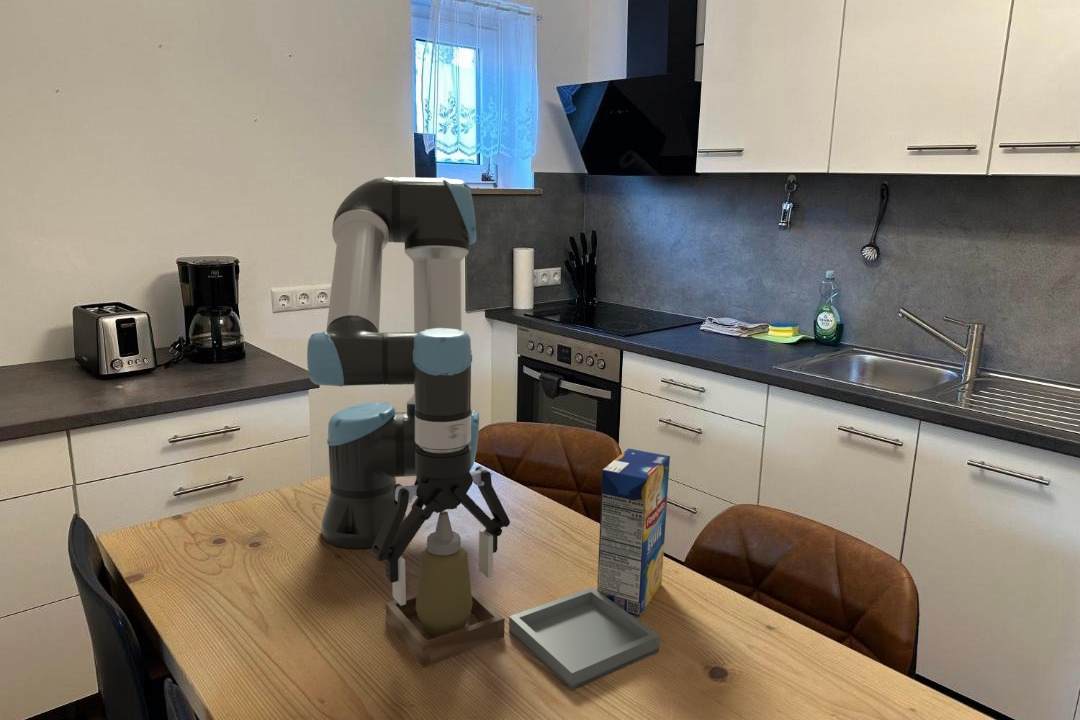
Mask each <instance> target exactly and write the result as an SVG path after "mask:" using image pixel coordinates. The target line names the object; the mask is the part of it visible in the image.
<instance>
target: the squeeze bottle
mask: <svg viewBox="0 0 1080 720" xmlns="http://www.w3.org/2000/svg"><path fill="white" fill-rule="evenodd" d="M451 524H452V523H451V521H450V516H449V513H448V511H446V510H444V511H443V512H439V513H438V518H437V522H436V527H435V531H434V532H431V533H430V534H428V536H427V538H426V548H425V549H424V550H423V551H421V555H420V557H419V566H418V567H419V568H418V579H417V589H416V590H417V591H416V593H417V598H416V612H417V614H418V616H417V617H418V619H419V621H420V624H421V626H422V631H424V634H425V635H426V636H427V637H429V638H430V639H433V638H436V637H439V636H442V635H445V634H448V633H451V632H453V631H456V630H459V629H462V628H465V627H467V624H468V621H469V618H470V616H471V610H472V605H473V604H472V594H471V588H472V587H471V585H472V584H471V578H470V577H471V576H470V568H469V559H468V553H467V551H466V549H465V548H463V547H462V546H461V542H462V541H461V540H462V539H461V538H462V537H461V535H460V533H458V532H456V531H454V530H453V529H452V525H451Z"/></svg>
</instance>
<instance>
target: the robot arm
mask: <svg viewBox="0 0 1080 720" xmlns="http://www.w3.org/2000/svg"><path fill="white" fill-rule="evenodd" d="M476 223H477V221H476V212H475V207H474V201H473V196H472V191H471V189H470V186H469V185H468V183H467V182H466V181H464V180H461V179H454V178H453V179H451V178H445V177H392V176H384V177H377V178H374V179H371V180H368V181H366V182H364V183H362V184H361V185H359V186H358V187H356V188H355V189H354V190H352V191H351V192H350V193H349V194H348V195H347V196H346V197H345V198H344V200H343V201H342V202H341V204H340V205H339V207H338V208H337V211H336V213H335V214H334V217H333V222H332V230H331V234H332V238H333V241H334V243H335V245H336V248H335V255H334V256H335V257H334V264H333V273H332V280H331V287H330V288H331V289H330V298H329V306H328V314H327V323H326V331H323V332H315V333H313V334H311V335H310V337H309V338H308V341H307V348H306V350H307V351H306V353H307V354H306V359H307V361H306V362H307V371H308V372H307V373H308V377H309V380H310V381H311V382H312V383H313V384H314V385H316V386H331V387H333V386H334V387H350V386H354V387H355V386H374V385H375V386H377V385H379V386H380V385H383V386H384V385H389V386H391V385H392V386H394V385H395V386H396V385H397V386H398V385H402V386H404V385H413V388H414V393H413V395H412V396H411V397H409V399H408V400H407V401H406V411H404V412H403V411H400V412H399V411H398V412H397V411H396V408H395V407H394V405H393V404H392V403H390V402H381V401H373V402H363V403H359V404H355V405H351V406H347V407H345V408H342V409H340V410H338V411H337V412H335V413H334V414H333V415H332V416H331V417H330V418H329V421H328V424H327V425H328V428H327V429H328V430H327V432H328V433H327V440H326V443H327V446H328V461H329V464H328V465H329V486H330V487H329V488H330V493H329V497H328V500H327V504H326V507H325V510H324V514H323V516H322V521H321V532H322V533H321V535H322V537H323V539H324V540H325V541H326V542H327V543H329V544H331V545H333V546H336V547H339V548H346V549H368V548H370V549H371V553H372V554H373V555H374V557H375V558H377V560H378V561H380V562H383V561H385V575H386V578H387V580H388V581H389V582H390V583H391V585H392V587H391V588H392V597H393V600H396V601H397V602H398V603H399V604H400V605H401V606H402V605H405V604H406V597H407V596H406V595H407V593H406V592H407V591H406V590H407V589H406V588H407V587H406V585H407V583H406V559H405V558H403V556H402V555H403V554H404V552H405V550H406V549H407V548H408V547H409V545H410V543H411V542H412V541H413V540H414V537H416V534H418V532H419V531H420V529H421V527H422V526H423V524H424V523H425V521H427V520H429V519H431V516H433V514H434V513H436V514H439V513H440V512H443V511H446V510H455V509H457V508H458V506H460V504H461V505H462V506H463V507H464V508H465V509H466V511H468V512H469V513H470V514H471V515H472V516H473V517H474V518H475V519H476V520H477V521H478V522H479V523H480V524H481V525H482V526H483V527H484V528H481V529H478V531H479V532H478V571H479V572H480V573H481V574H483V575H484V576H485V578H487V579H491V578H493V577H494V573H493V572H494V565H493V564H494V554H495V553H497V551H498V542H499V541H498V540H499V539H498V537H500V536H501V535H502V533H503V528H506V527H507V528H508V527H509V526H510V524H511V520H510V519H509V516H508V515H507V513H506V511H505V509H504V507H503V505H502V502H501V501H500V498H499V497H498V494H497V493H496V490H495V489H494V487H493V484H492V474H491V472H490V471H488V470H487V469H485V468H484V467H482V466H480V465H478V466H476V467H475V470H474V471H471V470H472V469H473V466H474V464H475V460H476V455H477V449H478V441H479V433H480V432H479V431H480V426H479V425H480V412H479V410H475V408H473V409H472V403H471V402H472V401H471V399H472V398H471V397H472V396H471V394H472V393H471V392H472V389H471V388H472V362H473V355H472V346H471V345H472V344H471V337H470V334H469V333H467V332H466V331H464V330H462V291H461V290H462V279H461V278H462V277H461V276H462V275H461V274H462V272H461V271H462V270H461V268H462V265H461V264H462V263H461V262H462V260H464V259H465V258H466V256H467V255H469V254H470V253H469V245H473V244H475V243H476V242H477V227H476V226H477V225H476ZM388 243H401V244H402V243H403V244H404V254H405V255H406V256H408V257H409V259H410V260H411V261H412V266H413V270H412V271H413V323H414V324H413V329H414V330H413V332H412V331H411V332H403V331H402V332H401V331H400V332H380V317H381V316H380V314H381V313H380V312H381V294H382V293H381V292H382V273H383V272H382V268H383V267H382V266H383V250H384V249H385V248H386V246H387V245H388ZM400 477H401V478H403V477H404V478H407V477H415V478H416V479H415V481H414V484H413V485H405V486H403V485H402V484H401V483H397V478H400ZM473 484H475V486H477V488H478V490H479V491H480V493H481V495H482V498H483V500H484V501H485V503H486V506H488V509H489V511H490V513H491V515H492V517H493V518H490V517H489V515H488V514H486V513H485V511H484V510H483V509H482V508H481V507H480V506H479V505H478V504H477V503H476V502H475V500H473V499H472V498H471V497H470V495H469V494H467V493H468V492H469V490H470V488H471V487H472V485H473ZM414 496H416V499H415V500H414V502H413V504H412V505H411V509H410V511H409V513H408V514H407V515H406V513H407V510H408V506H409V504H411V503H412V501H413V497H414ZM423 507H424V508H423Z"/></svg>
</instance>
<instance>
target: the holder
mask: <svg viewBox="0 0 1080 720" xmlns="http://www.w3.org/2000/svg"><path fill="white" fill-rule="evenodd" d="M471 594H472V604H473V605H472V610H471V613H470V615H472V616H473V617H474V618H475V619H477V620H478V622H476V623H474V624H470V625H468V626H466V627H465V628H462V629H459V630H456V631H453V632H451V633H448V634H445V635H442V636H439V637H436V638H430V639H429V640H427V639H426V638H425V637H424V636H423V635H422V633H421V632H420V631H419V630H418V629H417V627H416V626H414V624H413V623H412V622H411V620H409V619H411V618H414V617H418V614H417V612H416V598H417V592H416V593H414V594H410V595H407V596H406V604H405V605H402V606H401V605H400V604H399V603H398V602H397V601H396V600H395V599H393V600H391V601H388V602H385V620H386V623H387V624H388V626H390V628H391V629H392V630H393V632H394V633H395V634H396V635H397V636H398V638H399V639H400V640H401V642H402V643H403V644H404V645H405V646H406V648H407V649H408V650H409V652H410V653H411V654H412V655H413V656H414V658H415V659H416V660H417V661H418V662H419V665H421V666H422V667H423V668H425V667H429V666H431V665H433V664H436V663H439V662H442V661H444V660H447V659H450V658H452V657H453V658H454V657H455V656H458V655H461V654H463V653H466V652H468V651H472V650H473V649H477V648H480V647H482V646H485V645H488V644H490V643H493V642H496V641H498V640H501V639H503V638H505V621H506V619H505V617H504V616H503V615H502V614H501V613H499V612H498V611H497V610H496V608H494V607H493V606H492V605H491V604H490V603H488V601H486V600H485V599H484V598H483V597H482V596H481V595H480V594H478V593H477V592H476V591H475V589H473V588H472V587H471ZM487 643H488V644H487ZM479 646H480V647H479Z"/></svg>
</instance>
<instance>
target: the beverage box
mask: <svg viewBox="0 0 1080 720" xmlns="http://www.w3.org/2000/svg"><path fill="white" fill-rule="evenodd" d="M670 459H671V456H670V455H665V454H661V453H656V452H649V451H645V450H639V449H633V448H627V449H626V450H625V451H623V453H621V454H619V456H618V457H616V458H615V459H614V460H613V461H611V463H609V464H607V466H606V467H604V468H603V469H602V471H601V472H602V474H601V475H602V476H601V496H600V516H599V518H600V522H599V538H598V539H599V541H598V544H599V545H598V561H597V564H598V566H597V585H596V590H597V591H598V592H600V593H601V594H602V595H604V596H605V597H607V598H608V599H609V600H611V601H612V602H614V603H615V604H616V605H618V606H619V607H620V608H622V609H623V610H625V611H626V612H627V613H629V614H630V615H632V616H633V617H635V618H636V617H637V618H640V616H641V615H642V613H643V612H644V611H645V609H646V607H647V606H648V605H649V603H650V601H651V600H652V598H653V597H654V596H655V594H656V593H657V591H658V590H659V588H660V587H661V586H662V581H663V568H664V552H665V537H666V536H665V535H666V523H667V522H666V521H667V509H668V508H667V507H668V504H667V503H668V491H669V490H668V489H669V477H670V461H671V460H670Z"/></svg>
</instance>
